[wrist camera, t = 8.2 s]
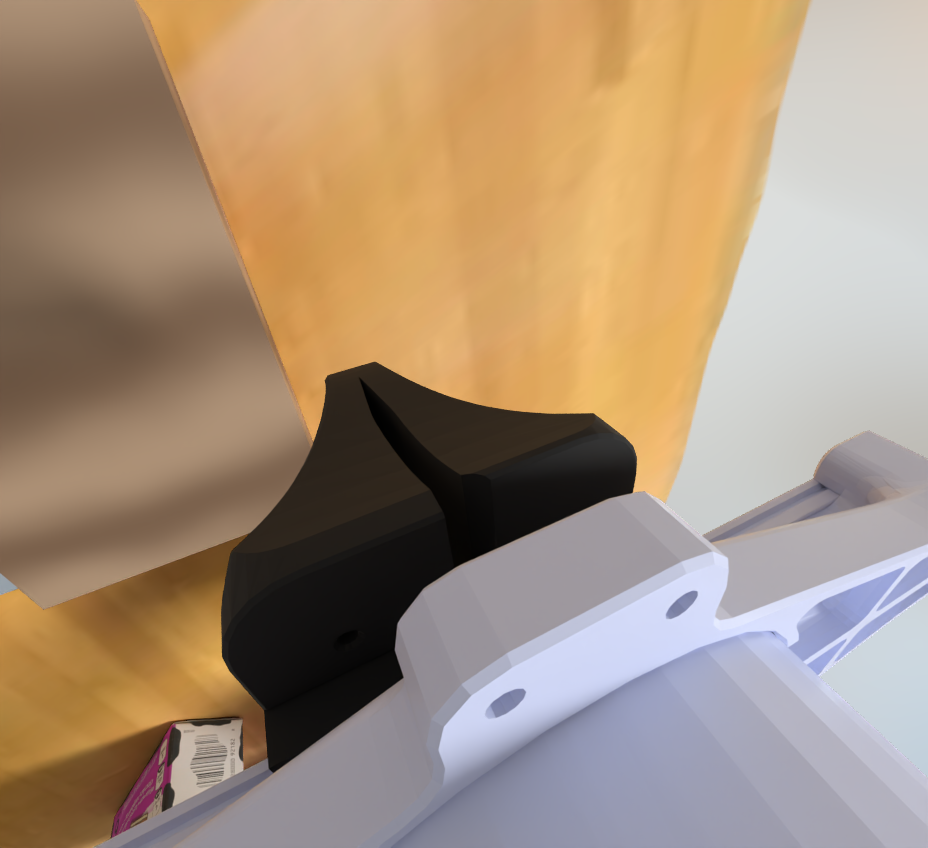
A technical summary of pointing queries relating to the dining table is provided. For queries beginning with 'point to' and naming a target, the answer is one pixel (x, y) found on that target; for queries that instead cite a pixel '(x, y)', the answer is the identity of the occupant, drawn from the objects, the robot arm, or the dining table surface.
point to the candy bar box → (183, 768)
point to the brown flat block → (121, 317)
